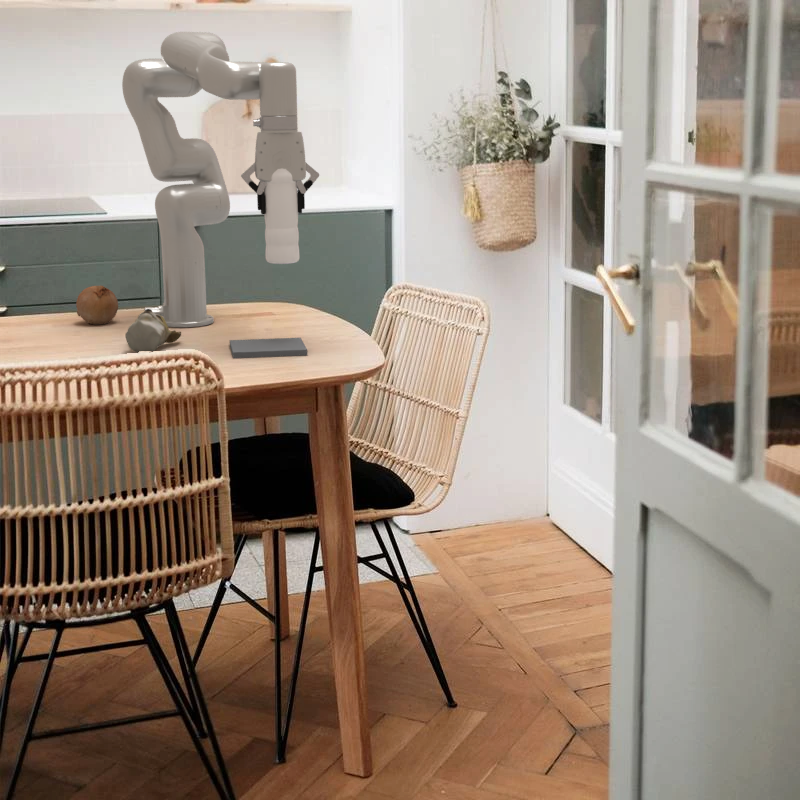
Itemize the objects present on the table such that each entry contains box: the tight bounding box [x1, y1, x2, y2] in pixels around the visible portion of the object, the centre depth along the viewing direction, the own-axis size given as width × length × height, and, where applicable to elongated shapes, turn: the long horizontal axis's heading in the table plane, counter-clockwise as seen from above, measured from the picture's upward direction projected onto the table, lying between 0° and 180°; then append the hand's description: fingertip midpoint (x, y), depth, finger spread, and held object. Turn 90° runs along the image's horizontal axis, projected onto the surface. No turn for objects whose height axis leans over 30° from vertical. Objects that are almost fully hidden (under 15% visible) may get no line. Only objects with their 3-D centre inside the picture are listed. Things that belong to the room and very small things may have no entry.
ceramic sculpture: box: [125, 309, 182, 353], centre depth 268 cm, size 11×9×15 cm
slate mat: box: [229, 337, 308, 359], centre depth 266 cm, size 15×13×1 cm
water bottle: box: [263, 168, 300, 265], centre depth 265 cm, size 7×7×25 cm
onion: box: [75, 284, 119, 325], centre depth 296 cm, size 10×9×10 cm
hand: (281, 212), depth 265 cm, fingers closed on water bottle, 6 cm apart
